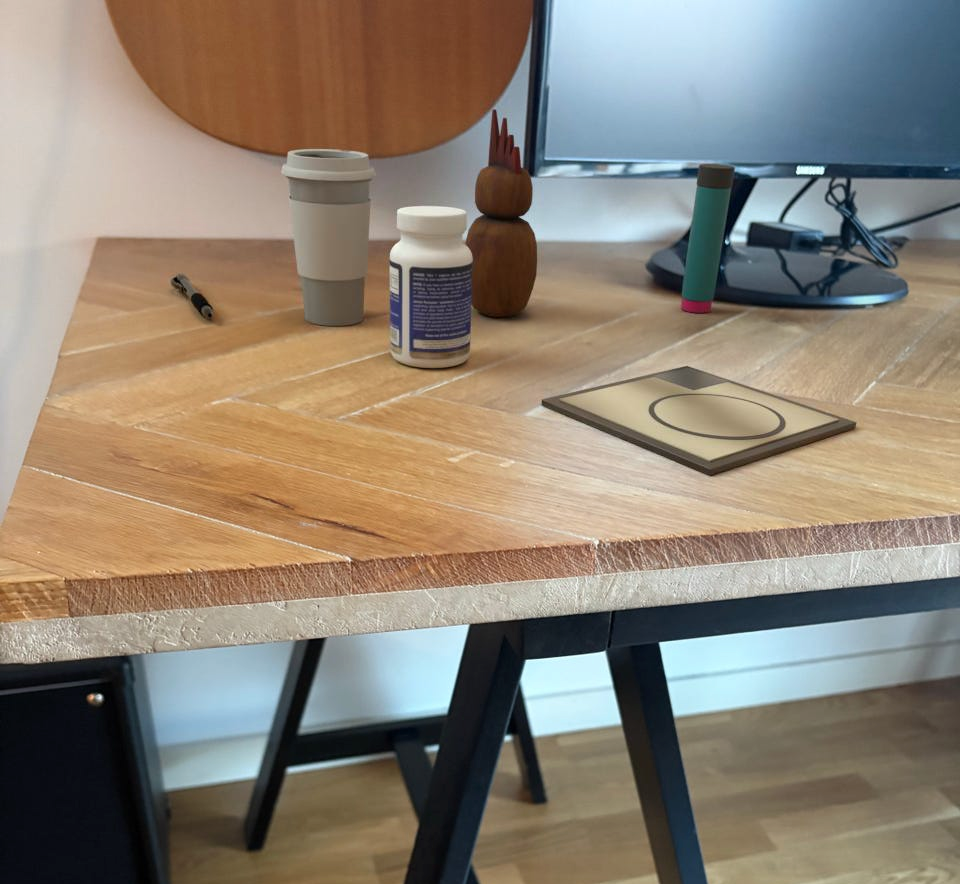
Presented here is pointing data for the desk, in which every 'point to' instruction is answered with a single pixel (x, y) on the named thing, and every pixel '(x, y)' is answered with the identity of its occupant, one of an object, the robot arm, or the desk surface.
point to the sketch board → (699, 418)
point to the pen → (193, 295)
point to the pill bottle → (430, 288)
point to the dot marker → (706, 236)
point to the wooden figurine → (502, 230)
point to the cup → (330, 231)
